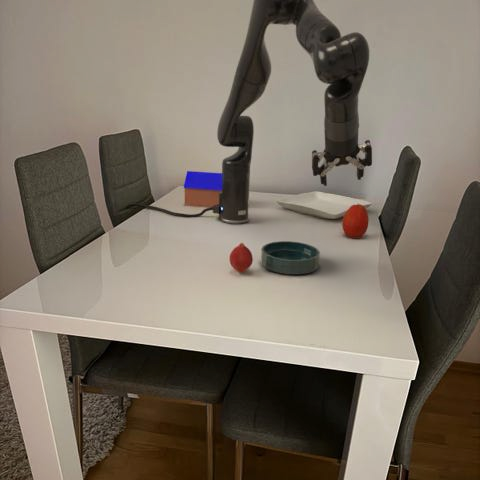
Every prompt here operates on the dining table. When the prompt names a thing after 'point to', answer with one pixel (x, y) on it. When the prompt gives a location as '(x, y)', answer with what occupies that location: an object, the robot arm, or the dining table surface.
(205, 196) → the house
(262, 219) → the dining table surface
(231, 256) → the red lemon
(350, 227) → the red egg
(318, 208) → the square plate
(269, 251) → the bowl
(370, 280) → the dining table surface
